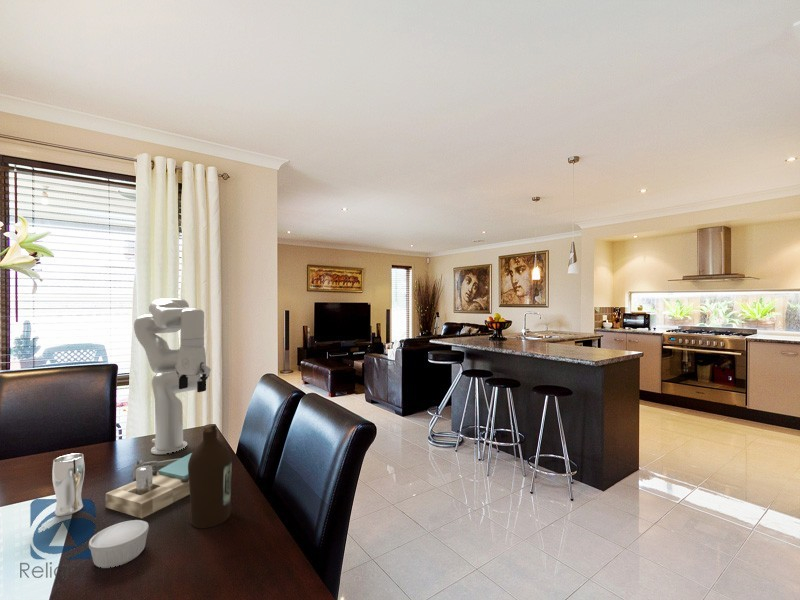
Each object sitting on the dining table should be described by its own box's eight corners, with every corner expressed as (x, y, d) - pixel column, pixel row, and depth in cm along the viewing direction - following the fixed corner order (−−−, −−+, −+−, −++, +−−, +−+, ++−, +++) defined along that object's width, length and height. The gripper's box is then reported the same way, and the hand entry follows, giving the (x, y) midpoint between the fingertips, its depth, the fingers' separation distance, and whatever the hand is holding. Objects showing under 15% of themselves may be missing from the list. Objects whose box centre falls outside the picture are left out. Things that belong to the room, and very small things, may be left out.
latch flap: (158, 473, 123) (158, 470, 123) (191, 455, 134) (191, 452, 134) (184, 479, 119) (184, 476, 118) (216, 460, 129) (216, 457, 129)
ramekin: (86, 556, 89) (85, 533, 89) (143, 535, 97) (142, 514, 97) (92, 580, 81) (92, 554, 81) (154, 555, 89) (153, 532, 89)
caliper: (134, 481, 128) (134, 462, 128) (132, 480, 129) (132, 461, 129) (194, 459, 145) (194, 443, 145) (193, 459, 146) (193, 442, 146)
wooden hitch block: (105, 507, 111) (105, 489, 111) (176, 475, 131) (176, 460, 131) (142, 518, 104) (142, 499, 105) (211, 483, 125) (210, 467, 125)
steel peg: (133, 504, 112) (132, 470, 112) (146, 498, 116) (146, 464, 116) (142, 507, 111) (141, 472, 111) (155, 500, 114) (155, 466, 114)
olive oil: (183, 533, 97) (182, 433, 98) (194, 511, 108) (193, 421, 108) (229, 526, 100) (227, 429, 100) (235, 505, 110) (234, 418, 111)
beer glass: (91, 505, 112) (90, 454, 112) (64, 518, 105) (63, 463, 105) (73, 503, 114) (72, 452, 114) (46, 515, 107) (45, 461, 107)
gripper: (166, 342, 140) (166, 389, 141) (199, 345, 133) (199, 395, 133) (185, 340, 147) (185, 385, 147) (218, 343, 140) (218, 390, 140)
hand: (192, 389), depth 140 cm, fingers open, 9 cm apart
